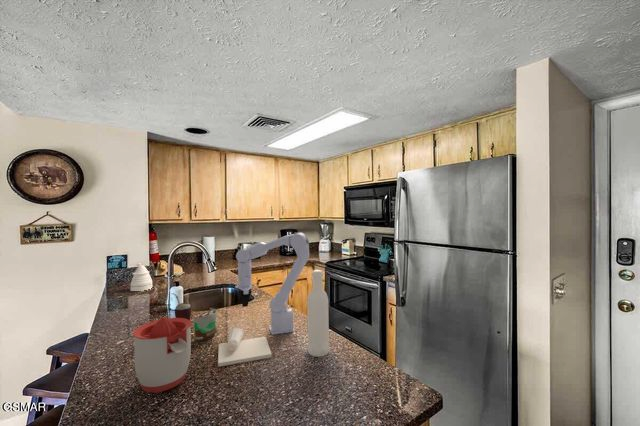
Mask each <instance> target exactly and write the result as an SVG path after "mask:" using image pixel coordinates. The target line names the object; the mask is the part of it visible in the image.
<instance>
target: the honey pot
mask: <svg viewBox="0 0 640 426" xmlns="http://www.w3.org/2000/svg"><path fill="white" fill-rule="evenodd" d="M136 266H137V268H136V270H135V271H134V272H132V275H133V277H132V278H131V281H130V292H131V291H141V292H145V291H144V290H147V291H149V290H148V289H150V290H152V289H153V288H152V287H153V279H152V277H151V275H150V271H149V270H148V269H147V267H146V266H145V265H143V264H142V263H141V262H136ZM151 288H152V289H151Z"/></svg>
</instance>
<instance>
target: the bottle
mask: <svg viewBox="0 0 640 426" xmlns="http://www.w3.org/2000/svg"><path fill="white" fill-rule="evenodd" d="M311 276H312V289H311V291H310V292H309V293H308V296H307V299H306V300H307V301H306V302H307V303H306V304H307V305H306V308H307V317H306V318H307V353H308V354H309V355H310V356H312V357H315V358H317V357H324V356H327V355H328V354H329V353H330V352H329V351H330V340H329V338H330V336H329V335H330V333H329V331H330V329H329V327H330V326H329V325H330V324H329V319H330V318H329V297H328V294H327V292H326V291H325V290H324V289H323V276H324V275H323V271H322V270H321V269H314V270H312V274H311Z"/></svg>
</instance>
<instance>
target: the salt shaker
mask: <svg viewBox="0 0 640 426" xmlns="http://www.w3.org/2000/svg"><path fill="white" fill-rule="evenodd" d="M243 332H244V331H243V330H242V329H241V328H239V327H233V328H232V330H230V332H229V335H228V341H227V342H228V350H229V351H234V350H235V349H236V347H237V346H238V344H239V343H240V341H241V340H243V336H244V335H243V334H244V333H243Z"/></svg>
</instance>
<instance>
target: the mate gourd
mask: <svg viewBox="0 0 640 426" xmlns="http://www.w3.org/2000/svg"><path fill="white" fill-rule="evenodd" d="M171 294H172V295H174V296H175V298H176V300H177V303H178V304H176V306H175V308H174V309H175V310H174V316H175V317H174V318H185V319H188V320H190V321H191V316H192V307H191V304H190V303H189V302H180V300H179V296H178V295H177V294H175V293H174V292H173V293H171Z"/></svg>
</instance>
